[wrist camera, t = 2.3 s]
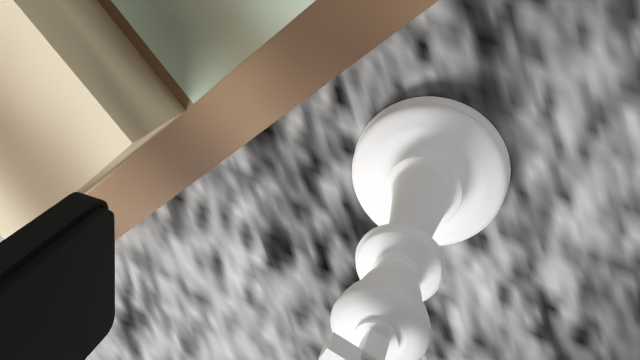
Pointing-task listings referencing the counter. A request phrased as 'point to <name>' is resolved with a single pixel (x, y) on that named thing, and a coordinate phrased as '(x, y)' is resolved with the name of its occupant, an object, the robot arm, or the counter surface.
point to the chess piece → (414, 220)
